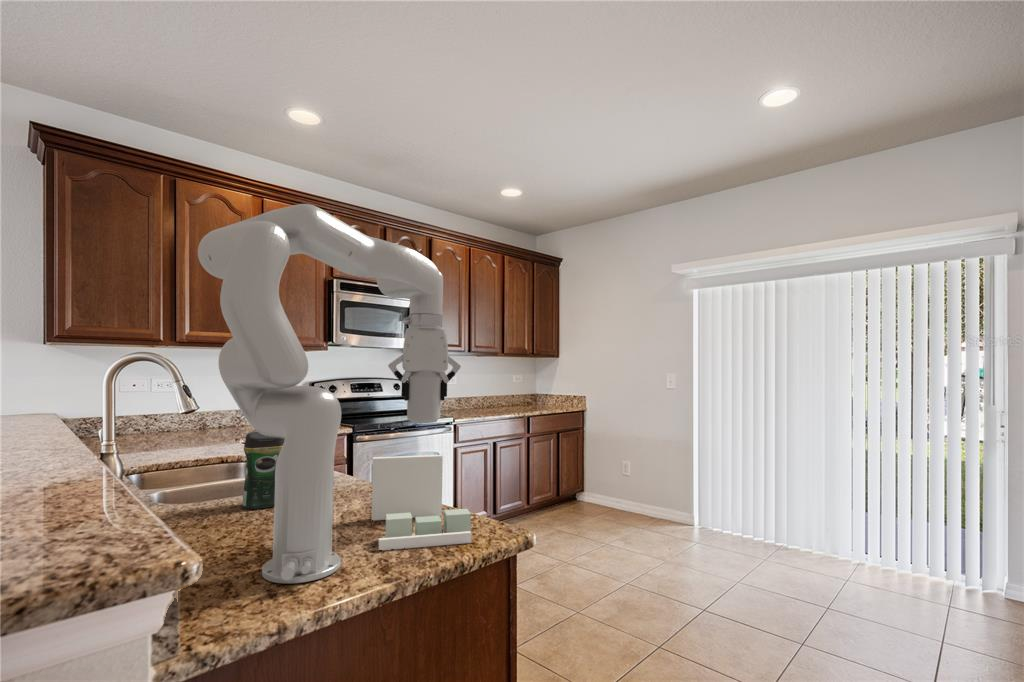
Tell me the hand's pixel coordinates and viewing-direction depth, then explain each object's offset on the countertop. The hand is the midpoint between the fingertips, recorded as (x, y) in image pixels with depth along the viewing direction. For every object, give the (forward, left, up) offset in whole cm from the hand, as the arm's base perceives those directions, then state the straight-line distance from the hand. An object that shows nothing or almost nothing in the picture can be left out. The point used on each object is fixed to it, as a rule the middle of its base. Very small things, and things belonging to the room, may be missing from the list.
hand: (424, 399), depth 118 cm
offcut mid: (-11, 0, -28) cm, 30 cm away
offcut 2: (-11, -6, -28) cm, 30 cm away
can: (0, 0, -5) cm, 5 cm away
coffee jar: (+24, +37, -28) cm, 52 cm away
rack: (-5, +1, -28) cm, 28 cm away
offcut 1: (-11, +6, -28) cm, 30 cm away
